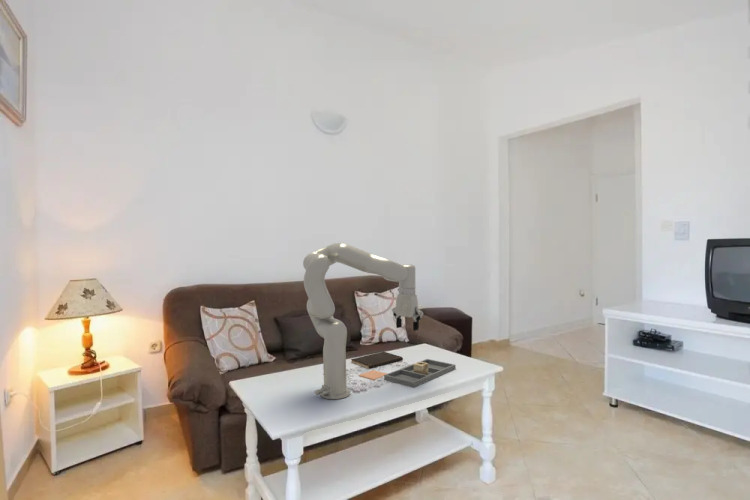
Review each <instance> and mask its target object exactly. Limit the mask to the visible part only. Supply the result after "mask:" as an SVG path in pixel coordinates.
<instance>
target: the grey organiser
mask: <svg viewBox="0 0 750 500" xmlns="http://www.w3.org/2000/svg"><path fill="white" fill-rule="evenodd" d="M419 362H424V363H428V374H427V375H424V374H420V373H416V372H414V364H415V363H413V364H410V365H407V366H405V367H402V368H399V369H396V370H393V371H391V372H389V373H387V374H386V375H384V376H383V380H384V381H386V382H390V383H394V384H395V383H396V384H399V385H402V386H406V387H410V388H412V389H413V388H414V389H415V388H417V387H419V386H421V385H424V384H425V383H428V382H429V381H432V380H434V379H436V378H439V377H441V376H443V375H445V374H447V373H450V372H452V371H454V370H456V369H457V368H456V364H454V363H448V362H445V361H440V360H435V359H430V358H426V359H424V360H421V361H419Z"/></svg>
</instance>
